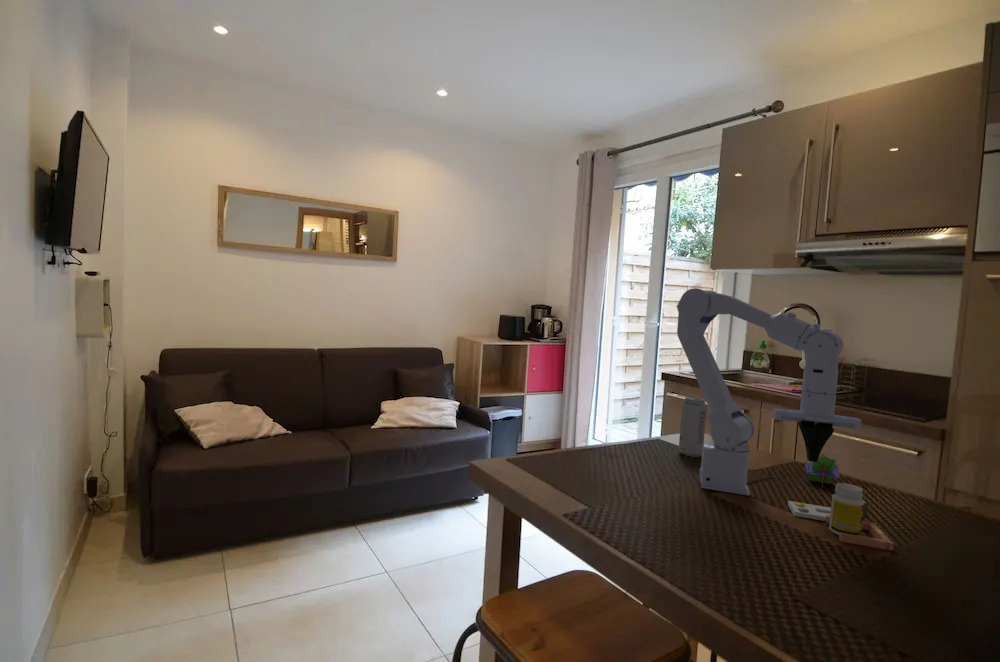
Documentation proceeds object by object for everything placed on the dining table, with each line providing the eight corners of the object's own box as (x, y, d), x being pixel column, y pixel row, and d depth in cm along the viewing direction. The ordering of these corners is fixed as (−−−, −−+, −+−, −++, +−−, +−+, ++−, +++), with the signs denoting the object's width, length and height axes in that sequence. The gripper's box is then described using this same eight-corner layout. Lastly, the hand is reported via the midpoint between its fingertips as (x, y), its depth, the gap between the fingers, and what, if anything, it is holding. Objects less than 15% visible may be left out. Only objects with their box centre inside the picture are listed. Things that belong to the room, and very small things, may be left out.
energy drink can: (681, 450, 140) (686, 395, 139) (705, 454, 136) (709, 399, 136) (675, 454, 135) (680, 398, 134) (699, 459, 131) (704, 401, 131)
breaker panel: (794, 515, 98) (794, 510, 98) (787, 504, 103) (788, 499, 103) (865, 527, 94) (865, 522, 94) (854, 515, 100) (854, 510, 100)
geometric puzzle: (844, 484, 112) (842, 450, 116) (807, 478, 115) (807, 445, 119) (836, 495, 117) (835, 462, 121) (802, 489, 120) (802, 457, 124)
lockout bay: (840, 541, 88) (841, 533, 88) (825, 521, 96) (826, 514, 96) (892, 550, 85) (893, 543, 85) (873, 529, 94) (873, 522, 94)
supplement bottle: (865, 541, 88) (870, 493, 88) (834, 536, 90) (839, 489, 89) (854, 529, 93) (858, 484, 93) (824, 525, 94) (829, 480, 94)
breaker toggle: (847, 515, 96) (849, 500, 96) (842, 509, 99) (844, 495, 99) (866, 518, 95) (867, 503, 95) (860, 512, 98) (862, 497, 98)
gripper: (780, 390, 99) (774, 459, 99) (869, 399, 94) (862, 472, 95) (774, 385, 105) (768, 450, 106) (856, 393, 101) (850, 461, 101)
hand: (812, 460), depth 101 cm, fingers closed
